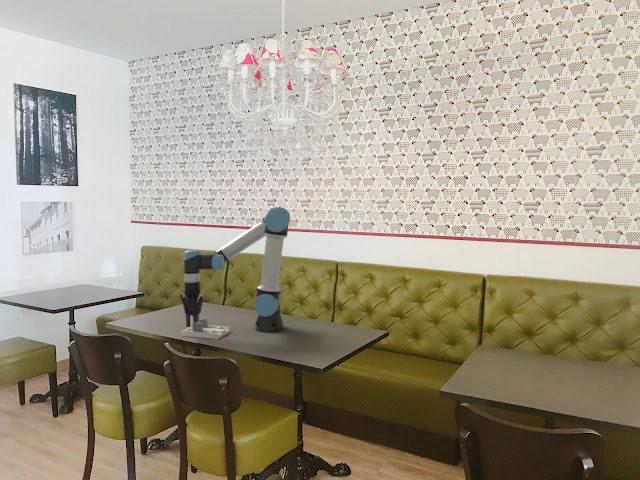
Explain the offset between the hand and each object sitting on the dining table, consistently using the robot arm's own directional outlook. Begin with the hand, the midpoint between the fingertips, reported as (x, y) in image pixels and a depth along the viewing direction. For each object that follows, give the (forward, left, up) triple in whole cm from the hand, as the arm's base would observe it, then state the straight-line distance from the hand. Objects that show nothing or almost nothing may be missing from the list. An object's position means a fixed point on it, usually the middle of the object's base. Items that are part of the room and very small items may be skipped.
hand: (193, 327), depth 250 cm
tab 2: (-1, -8, -2) cm, 8 cm away
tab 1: (-3, 0, -2) cm, 3 cm away
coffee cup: (+9, -15, -4) cm, 18 cm away
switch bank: (-5, -4, -4) cm, 7 cm away
